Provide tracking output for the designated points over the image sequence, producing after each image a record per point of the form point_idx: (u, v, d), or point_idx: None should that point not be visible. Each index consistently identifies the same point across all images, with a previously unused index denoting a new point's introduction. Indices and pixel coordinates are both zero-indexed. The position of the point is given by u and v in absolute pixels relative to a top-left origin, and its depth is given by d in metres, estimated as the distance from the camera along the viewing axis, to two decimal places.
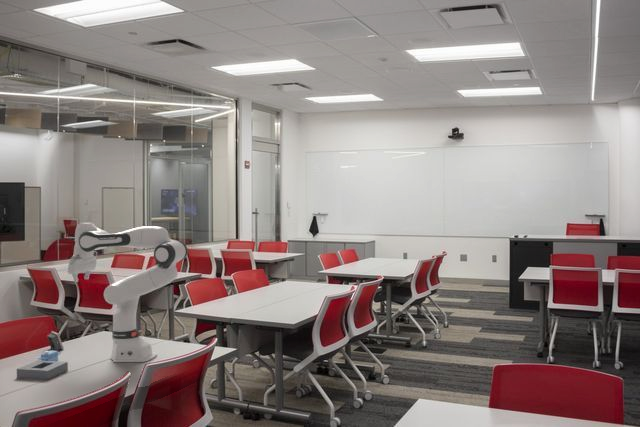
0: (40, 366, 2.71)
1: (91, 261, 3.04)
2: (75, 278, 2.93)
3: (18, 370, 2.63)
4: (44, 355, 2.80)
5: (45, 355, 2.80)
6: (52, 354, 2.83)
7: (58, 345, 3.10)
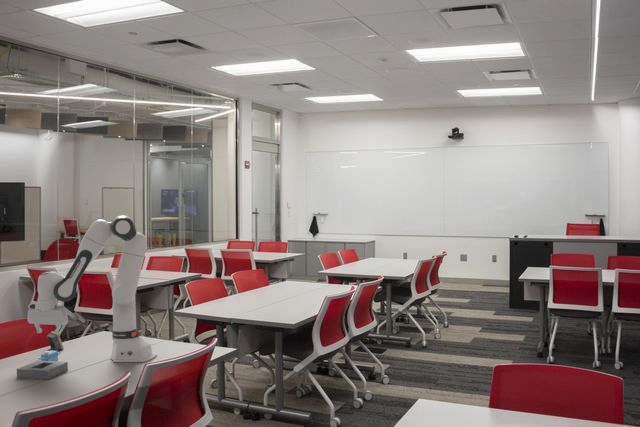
0: (40, 366, 2.71)
1: None
2: (58, 329, 2.82)
3: (18, 370, 2.63)
4: (44, 355, 2.80)
5: (45, 355, 2.80)
6: (52, 354, 2.83)
7: (58, 345, 3.10)
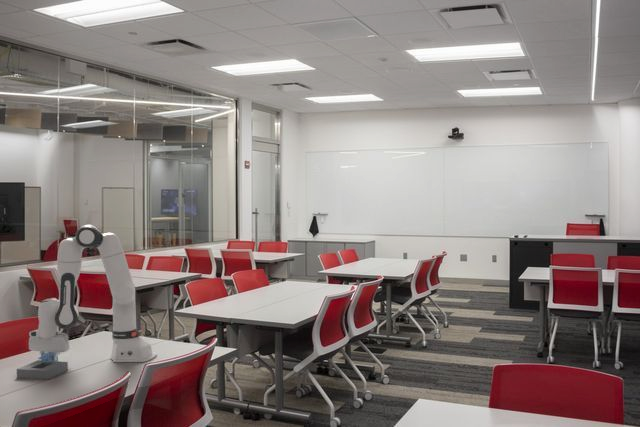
0: (40, 366, 2.71)
1: None
2: (56, 356, 2.83)
3: (18, 370, 2.63)
4: (44, 355, 2.80)
5: (45, 355, 2.80)
6: (52, 354, 2.83)
7: None
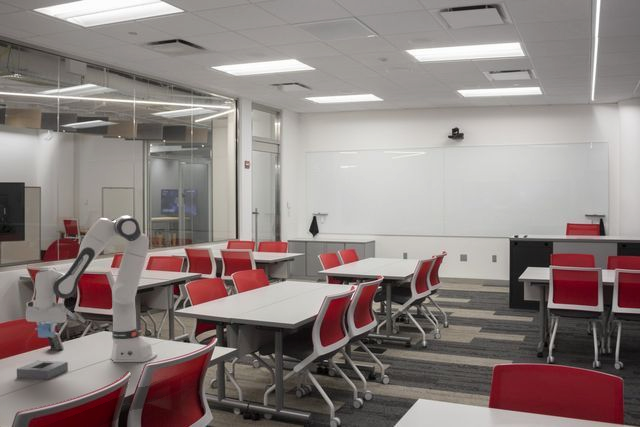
0: (40, 366, 2.71)
1: None
2: (53, 327, 2.79)
3: (18, 370, 2.63)
4: (41, 325, 2.76)
5: (42, 325, 2.76)
6: (49, 325, 2.79)
7: (58, 345, 3.10)
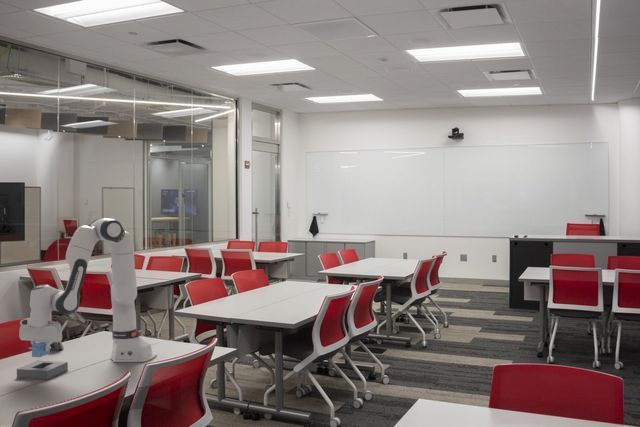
0: (40, 366, 2.71)
1: None
2: (48, 346, 2.68)
3: (18, 370, 2.63)
4: (35, 345, 2.65)
5: (36, 345, 2.65)
6: (44, 344, 2.67)
7: (58, 345, 3.10)
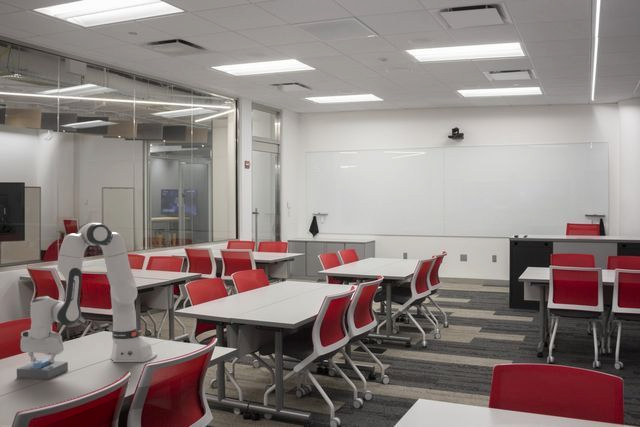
0: None
1: None
2: (53, 358, 2.68)
3: (18, 370, 2.63)
4: (37, 364, 2.65)
5: (38, 364, 2.65)
6: (45, 363, 2.68)
7: None
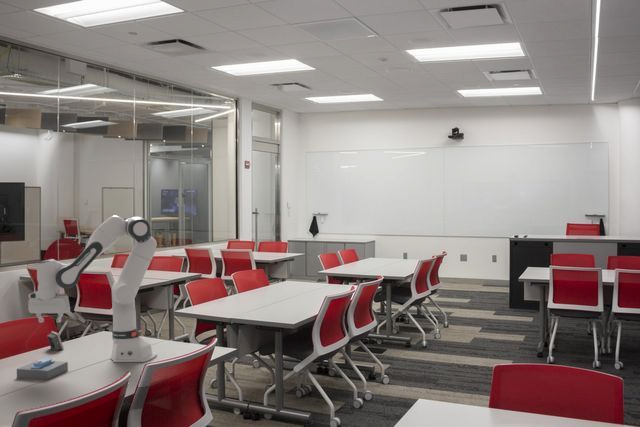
0: None
1: None
2: (60, 318, 2.78)
3: (18, 370, 2.63)
4: (37, 364, 2.65)
5: (38, 364, 2.65)
6: (46, 363, 2.68)
7: (58, 345, 3.10)
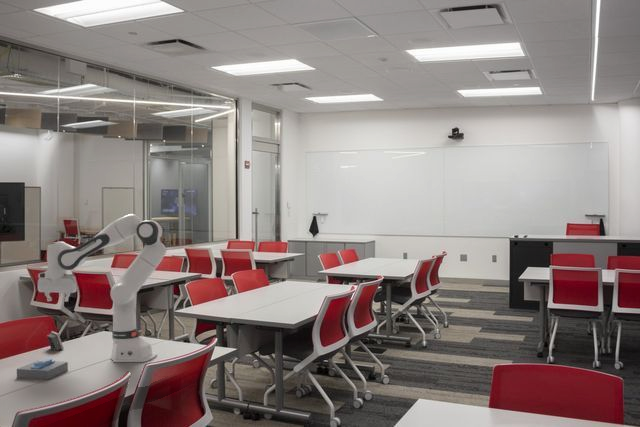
0: None
1: None
2: (67, 297, 2.92)
3: (18, 370, 2.63)
4: (37, 364, 2.66)
5: (38, 364, 2.66)
6: (46, 363, 2.68)
7: (58, 345, 3.10)
